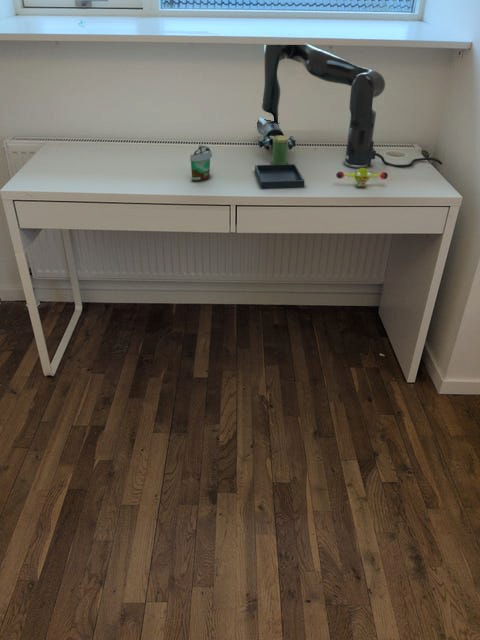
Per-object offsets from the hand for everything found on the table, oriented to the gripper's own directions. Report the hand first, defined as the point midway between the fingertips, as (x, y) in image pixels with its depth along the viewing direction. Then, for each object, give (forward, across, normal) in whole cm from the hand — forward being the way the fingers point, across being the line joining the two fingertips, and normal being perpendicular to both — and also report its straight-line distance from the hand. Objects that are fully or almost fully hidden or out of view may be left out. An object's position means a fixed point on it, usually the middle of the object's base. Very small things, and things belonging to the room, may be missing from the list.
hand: (279, 147), depth 207 cm
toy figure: (+27, +25, +6) cm, 37 cm away
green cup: (+1, 0, +6) cm, 6 cm away
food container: (+14, -30, +6) cm, 34 cm away
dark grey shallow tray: (+17, -3, +6) cm, 19 cm away
